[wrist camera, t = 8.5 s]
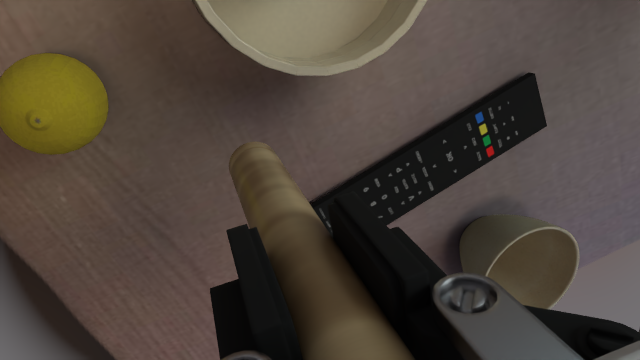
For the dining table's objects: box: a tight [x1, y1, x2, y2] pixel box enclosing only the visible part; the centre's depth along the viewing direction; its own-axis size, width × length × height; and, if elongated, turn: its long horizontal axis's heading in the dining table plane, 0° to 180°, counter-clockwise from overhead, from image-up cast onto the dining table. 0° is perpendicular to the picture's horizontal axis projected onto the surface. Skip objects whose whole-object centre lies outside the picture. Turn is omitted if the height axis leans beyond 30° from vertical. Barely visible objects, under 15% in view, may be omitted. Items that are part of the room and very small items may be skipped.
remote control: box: [311, 73, 547, 237], centre depth 39 cm, size 5×24×1 cm, turn 116°
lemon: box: [0, 53, 108, 155], centre depth 26 cm, size 6×6×8 cm
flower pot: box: [460, 215, 579, 310], centre depth 42 cm, size 10×10×7 cm
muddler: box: [229, 142, 415, 360], centre depth 13 cm, size 2×2×13 cm
